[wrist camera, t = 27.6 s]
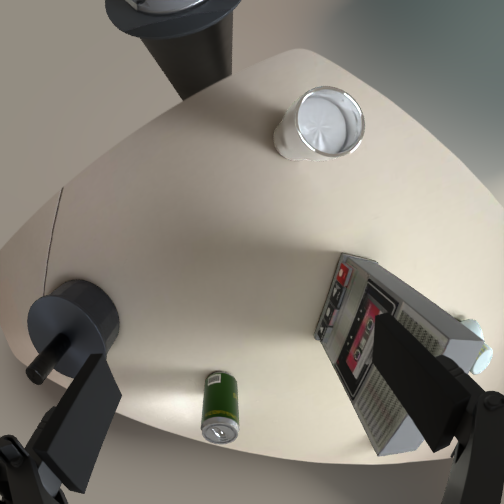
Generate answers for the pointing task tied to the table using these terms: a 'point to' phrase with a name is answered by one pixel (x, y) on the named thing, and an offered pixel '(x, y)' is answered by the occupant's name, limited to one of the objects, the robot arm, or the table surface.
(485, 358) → the air freshener
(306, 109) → the beer glass
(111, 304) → the tin
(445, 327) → the cassette tape recorder
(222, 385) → the beer can
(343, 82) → the table surface
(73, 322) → the tin lid
